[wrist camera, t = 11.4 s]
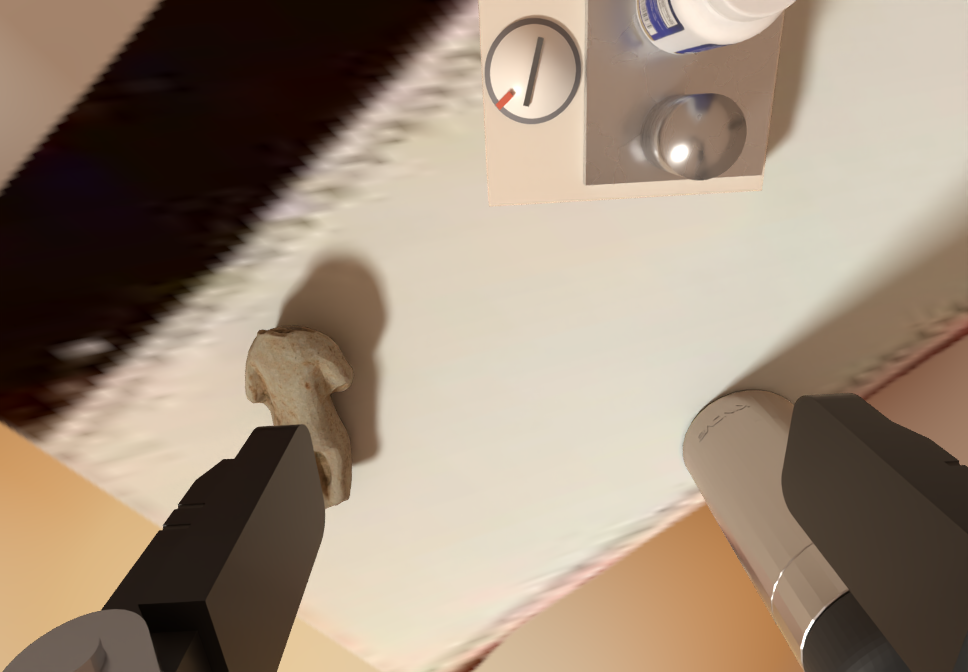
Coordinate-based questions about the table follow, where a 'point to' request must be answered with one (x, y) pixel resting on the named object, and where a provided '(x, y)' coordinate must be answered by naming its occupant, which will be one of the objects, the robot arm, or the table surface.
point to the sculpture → (305, 396)
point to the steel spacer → (694, 135)
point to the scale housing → (552, 109)
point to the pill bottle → (705, 22)
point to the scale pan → (663, 91)
